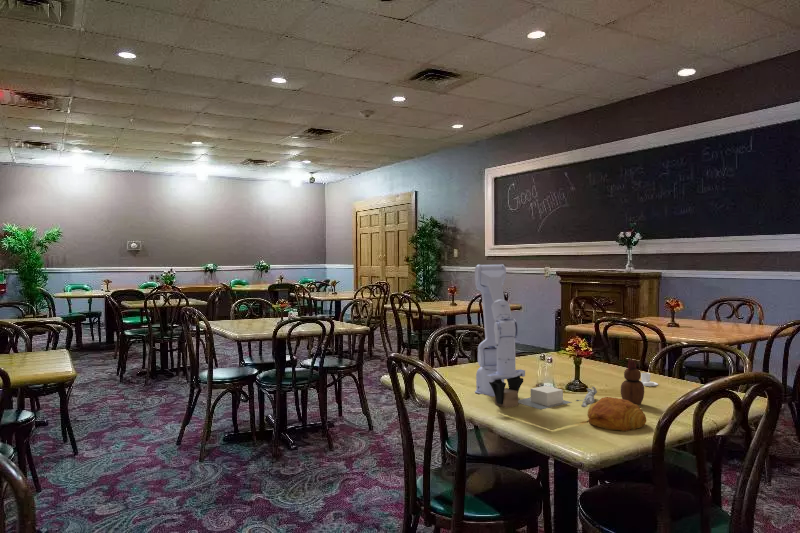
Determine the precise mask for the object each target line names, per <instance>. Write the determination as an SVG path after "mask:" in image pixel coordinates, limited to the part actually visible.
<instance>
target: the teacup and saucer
mask: <svg viewBox="0 0 800 533" xmlns="http://www.w3.org/2000/svg"><path fill="white" fill-rule="evenodd" d="M640 373H641V377H640V379H641V380H640V381H641V382H642V383H643V385H644V387H657V386H659V383H658V382H655V381H651V376H652V375H651V373H650V372H640Z"/></svg>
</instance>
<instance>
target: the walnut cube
mask: <svg viewBox="0 0 800 533" xmlns="http://www.w3.org/2000/svg"><path fill="white" fill-rule="evenodd" d="M518 400H519V391H516V390H512V389H509V387H507V388H506V387H505V389H504V400H503V404H498V403H497V401H496V397H495V396H494V405H496V406H498V407H503V408H505V409H507V408H512V407H516V406H517V407H518V406H519V403H518Z"/></svg>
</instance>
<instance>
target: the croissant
mask: <svg viewBox="0 0 800 533" xmlns="http://www.w3.org/2000/svg"><path fill="white" fill-rule="evenodd" d="M646 416H647V415H646V414H645V413H644V412H643V410H642V409H641V407H640V406H639V405H637V404H633V403H632V402H630V401H628V400H624V399H622V398H616V397H610V396H605V397H602V398H600V399H599V400H598V401H595V402H594V403H593V404H590V406H589V407H588V410H587V418H588V423H589V425H592V426H595V427H597V428H601V429H605V430H610V431H611V430H612V431H622V432H627V431H628V432H630V430H637V429H639V428H642V427H644V426H645V424H646V423H647V417H646Z"/></svg>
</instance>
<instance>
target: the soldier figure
mask: <svg viewBox="0 0 800 533" xmlns="http://www.w3.org/2000/svg"><path fill="white" fill-rule="evenodd" d="M586 390H587V393H586V394H585V397H584V398H583V399H576V400H575V402H580V401H582V404H580V406H581V407H583V408H585V407H586V408H587V407H588V405H589V404H590V405H591V404H593V403H595V402H596V400H595V395H596V394H597V393H598V391H597V389H596V387H595V386H591V388H590V387H589V388H587V387H586Z"/></svg>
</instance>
